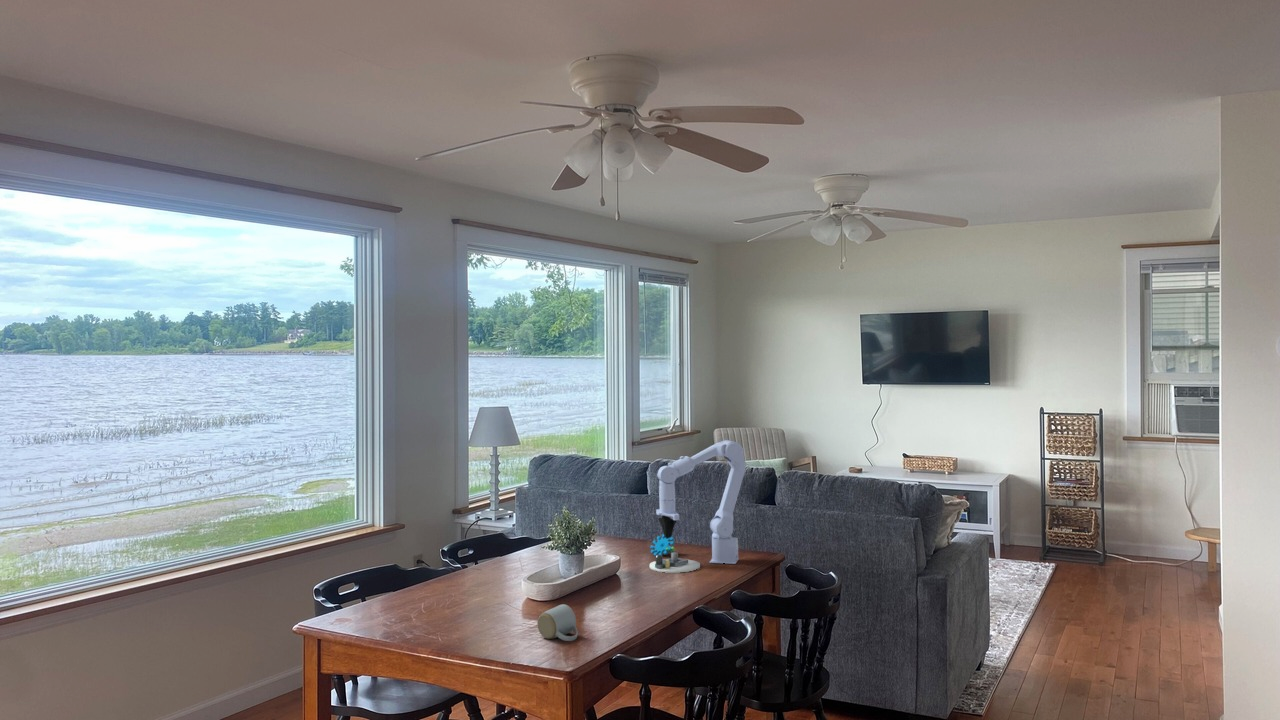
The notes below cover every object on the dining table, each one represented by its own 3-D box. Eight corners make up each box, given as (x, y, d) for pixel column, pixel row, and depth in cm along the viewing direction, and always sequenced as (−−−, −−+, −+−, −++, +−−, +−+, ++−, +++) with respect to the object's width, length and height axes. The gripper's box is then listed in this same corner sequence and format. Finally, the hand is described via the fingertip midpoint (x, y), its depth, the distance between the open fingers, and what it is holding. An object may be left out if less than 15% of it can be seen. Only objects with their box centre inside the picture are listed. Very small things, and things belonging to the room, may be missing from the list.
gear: (644, 550, 332) (659, 529, 336) (652, 559, 335) (666, 538, 339) (664, 558, 323) (679, 537, 327) (671, 568, 326) (686, 546, 330)
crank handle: (674, 560, 315) (673, 548, 315) (688, 563, 310) (688, 551, 310) (649, 566, 306) (649, 554, 306) (664, 569, 301) (663, 557, 301)
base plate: (704, 562, 316) (704, 548, 316) (694, 574, 299) (694, 559, 299) (656, 560, 321) (656, 547, 321) (643, 572, 304) (643, 557, 304)
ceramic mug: (535, 637, 232) (535, 608, 232) (556, 629, 238) (556, 601, 238) (564, 645, 225) (563, 615, 225) (585, 637, 232) (585, 608, 232)
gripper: (648, 498, 319) (649, 535, 319) (666, 503, 306) (667, 542, 305) (665, 496, 322) (666, 533, 322) (684, 501, 309) (684, 540, 308)
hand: (668, 537), depth 314 cm, fingers closed
